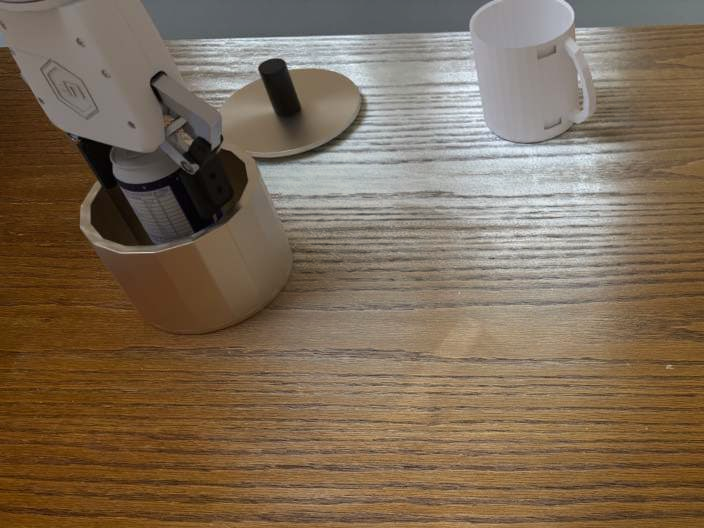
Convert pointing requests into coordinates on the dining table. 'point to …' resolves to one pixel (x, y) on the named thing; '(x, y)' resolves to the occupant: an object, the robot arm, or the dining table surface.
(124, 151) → the beverage can
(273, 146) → the lid
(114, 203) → the pot
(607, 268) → the dining table surface
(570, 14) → the mug
